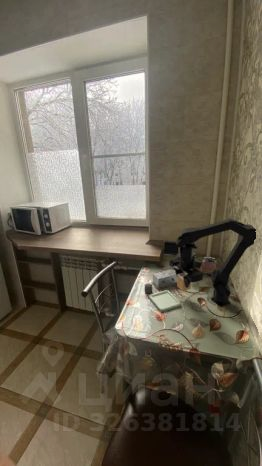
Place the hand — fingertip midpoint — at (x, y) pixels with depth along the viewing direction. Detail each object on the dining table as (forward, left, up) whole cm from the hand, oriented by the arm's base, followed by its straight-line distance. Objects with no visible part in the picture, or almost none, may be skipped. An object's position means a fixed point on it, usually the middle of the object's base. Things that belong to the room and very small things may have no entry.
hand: (183, 284), depth 102 cm
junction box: (+14, +2, -7) cm, 16 cm away
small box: (+22, -18, -7) cm, 29 cm away
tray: (+1, +10, -7) cm, 12 cm away
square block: (0, 0, -2) cm, 2 cm away
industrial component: (+32, -22, -7) cm, 40 cm away
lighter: (+14, -28, -7) cm, 32 cm away
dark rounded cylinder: (+11, +14, -7) cm, 19 cm away
